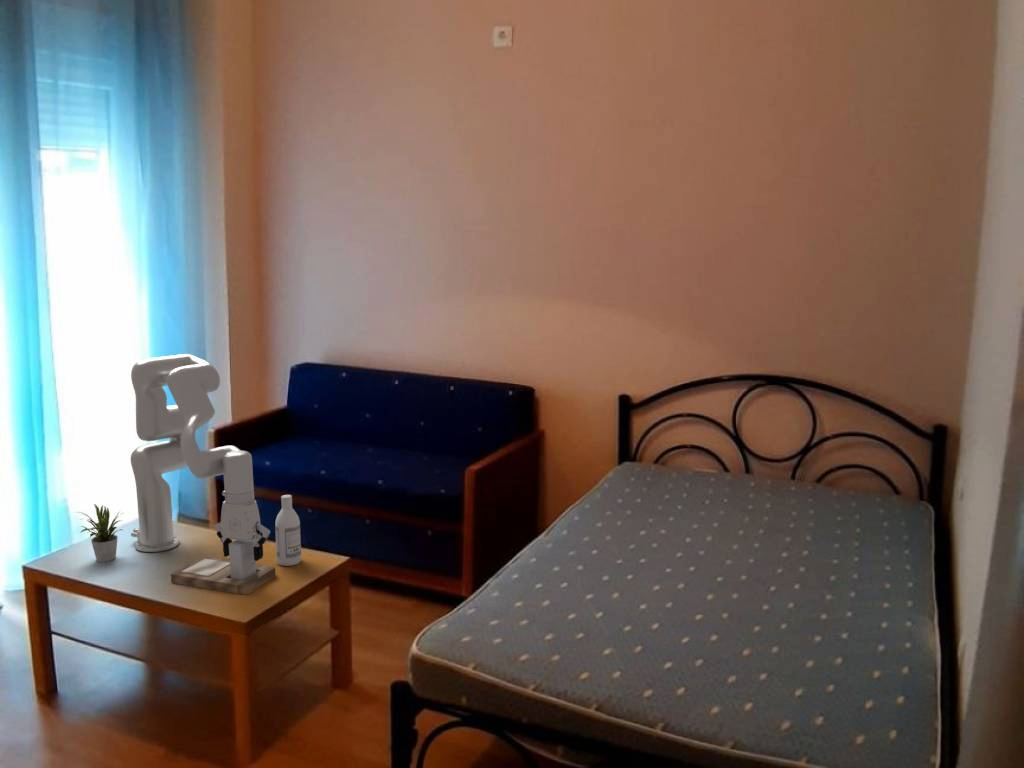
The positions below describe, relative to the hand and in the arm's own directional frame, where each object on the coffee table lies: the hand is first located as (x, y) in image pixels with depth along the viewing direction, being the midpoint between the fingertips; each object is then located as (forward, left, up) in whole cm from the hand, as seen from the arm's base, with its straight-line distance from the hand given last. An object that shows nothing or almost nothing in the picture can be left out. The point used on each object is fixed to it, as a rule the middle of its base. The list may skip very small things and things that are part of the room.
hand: (243, 557), depth 253 cm
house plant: (-50, +1, -8) cm, 50 cm away
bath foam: (+3, +17, -8) cm, 19 cm away
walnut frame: (-7, 0, -7) cm, 10 cm away
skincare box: (0, 0, -8) cm, 8 cm away
